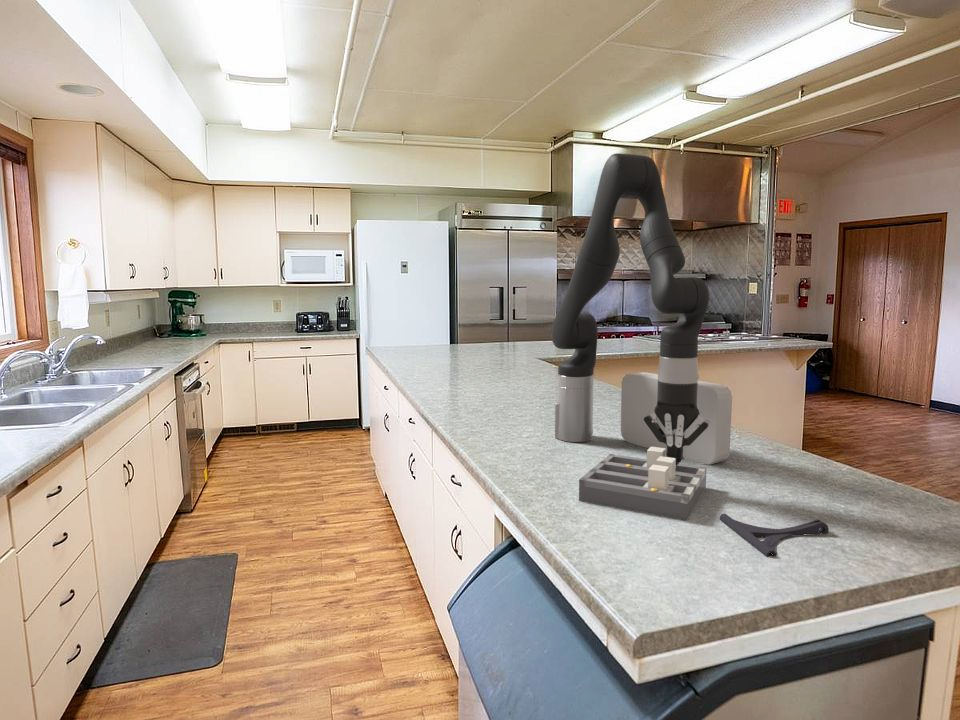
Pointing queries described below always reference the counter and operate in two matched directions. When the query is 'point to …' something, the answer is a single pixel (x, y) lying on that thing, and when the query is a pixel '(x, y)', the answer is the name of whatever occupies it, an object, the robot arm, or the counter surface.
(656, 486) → the switch front
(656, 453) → the switch back
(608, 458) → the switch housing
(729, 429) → the grey block
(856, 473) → the counter surface
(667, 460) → the switch middle
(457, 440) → the counter surface
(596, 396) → the counter surface
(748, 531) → the bracket
